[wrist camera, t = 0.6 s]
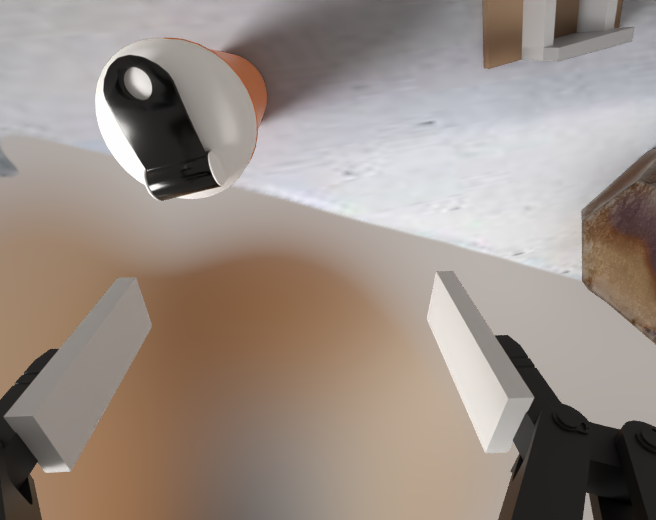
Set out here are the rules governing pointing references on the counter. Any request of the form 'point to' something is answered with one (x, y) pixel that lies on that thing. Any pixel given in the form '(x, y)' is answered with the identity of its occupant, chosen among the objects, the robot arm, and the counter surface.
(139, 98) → the shaker bottle
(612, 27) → the socket
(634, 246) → the planter
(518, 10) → the board
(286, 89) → the counter surface
